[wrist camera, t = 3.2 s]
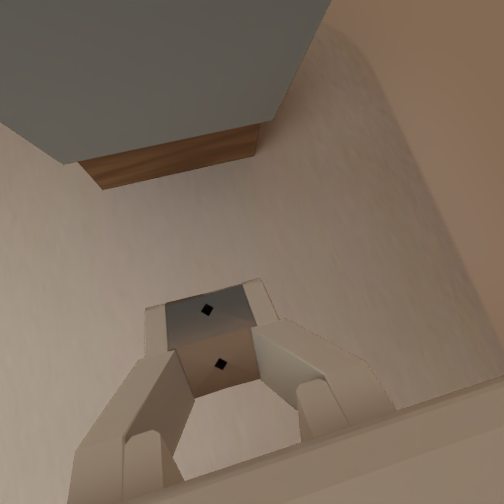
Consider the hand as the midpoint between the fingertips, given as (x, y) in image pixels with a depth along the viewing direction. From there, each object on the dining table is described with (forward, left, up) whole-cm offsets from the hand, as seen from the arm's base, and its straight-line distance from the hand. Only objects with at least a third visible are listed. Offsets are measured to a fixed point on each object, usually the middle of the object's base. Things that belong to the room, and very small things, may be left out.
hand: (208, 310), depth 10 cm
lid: (-10, +6, -6) cm, 13 cm away
